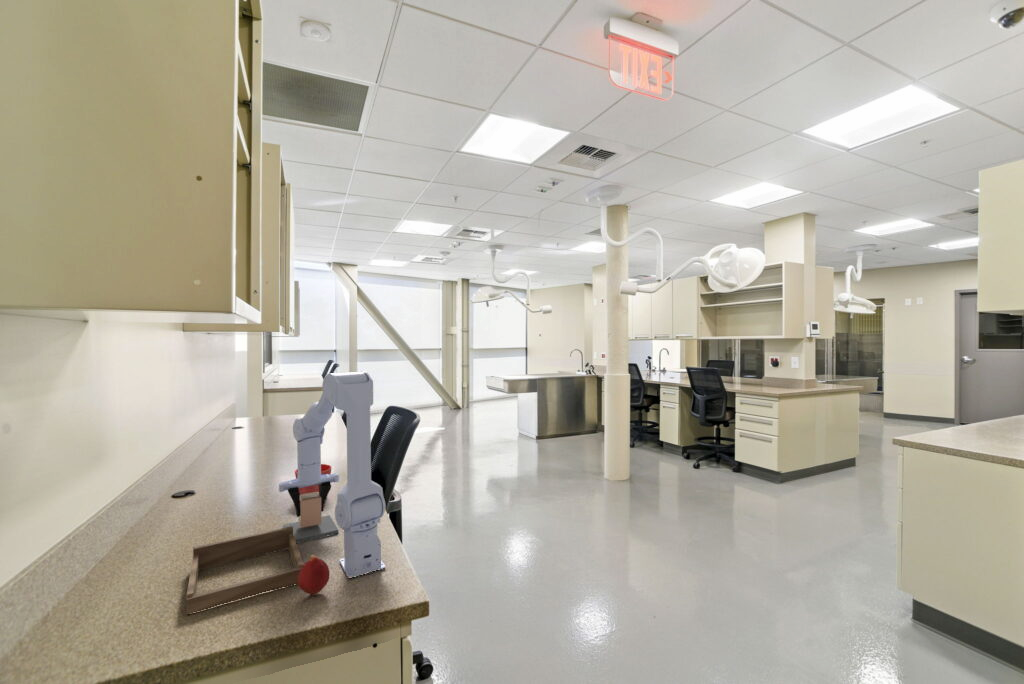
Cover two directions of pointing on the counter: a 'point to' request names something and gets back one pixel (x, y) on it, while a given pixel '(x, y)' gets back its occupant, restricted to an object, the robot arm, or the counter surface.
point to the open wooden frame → (236, 552)
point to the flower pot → (315, 488)
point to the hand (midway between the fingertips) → (309, 512)
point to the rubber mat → (313, 529)
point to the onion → (313, 575)
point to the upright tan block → (310, 509)
